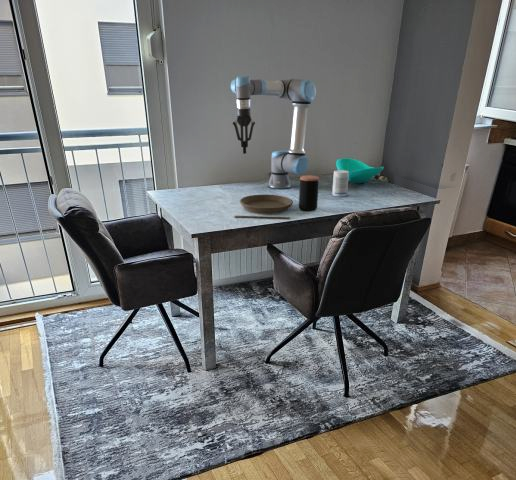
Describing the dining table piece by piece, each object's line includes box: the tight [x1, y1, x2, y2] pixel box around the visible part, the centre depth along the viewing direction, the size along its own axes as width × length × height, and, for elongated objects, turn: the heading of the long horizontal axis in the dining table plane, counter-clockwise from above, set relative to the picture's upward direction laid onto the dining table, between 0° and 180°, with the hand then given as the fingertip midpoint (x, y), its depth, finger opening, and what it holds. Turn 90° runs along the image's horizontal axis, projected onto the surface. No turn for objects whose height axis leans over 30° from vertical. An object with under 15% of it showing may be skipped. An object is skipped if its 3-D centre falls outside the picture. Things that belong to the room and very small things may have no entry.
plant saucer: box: [239, 193, 294, 215], centre depth 274 cm, size 31×31×5 cm
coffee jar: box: [298, 174, 320, 213], centre depth 269 cm, size 11×11×18 cm
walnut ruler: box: [234, 215, 290, 220], centre depth 258 cm, size 30×2×1 cm, turn 84°
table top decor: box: [335, 157, 384, 184], centre depth 331 cm, size 40×28×13 cm
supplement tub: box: [331, 169, 349, 198], centre depth 298 cm, size 10×10×15 cm
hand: (244, 153), depth 273 cm, fingers closed
